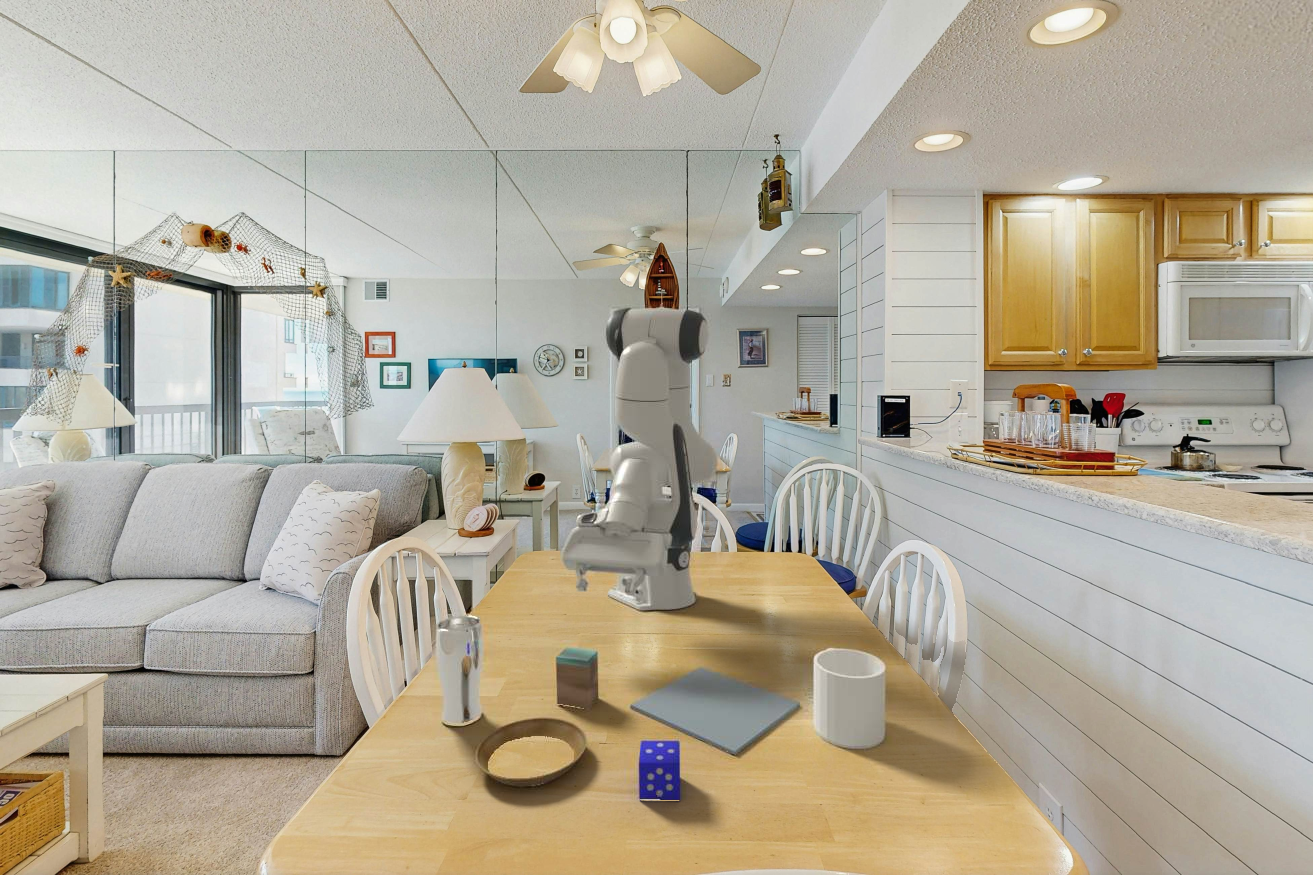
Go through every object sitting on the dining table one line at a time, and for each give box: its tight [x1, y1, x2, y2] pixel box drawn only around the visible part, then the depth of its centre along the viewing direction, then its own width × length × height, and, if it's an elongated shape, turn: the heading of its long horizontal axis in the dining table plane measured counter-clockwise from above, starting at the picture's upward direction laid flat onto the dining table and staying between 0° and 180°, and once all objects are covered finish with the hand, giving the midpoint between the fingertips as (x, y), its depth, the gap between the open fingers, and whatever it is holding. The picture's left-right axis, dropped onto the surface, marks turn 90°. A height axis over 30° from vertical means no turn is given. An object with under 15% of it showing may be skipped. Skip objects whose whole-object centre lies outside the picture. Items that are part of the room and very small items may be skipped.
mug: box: [813, 647, 887, 750], centre depth 91 cm, size 13×10×10 cm
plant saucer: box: [475, 716, 588, 787], centre depth 83 cm, size 15×15×3 cm
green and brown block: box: [555, 646, 599, 710], centre depth 100 cm, size 4×6×8 cm
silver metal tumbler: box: [435, 615, 484, 723], centre depth 95 cm, size 7×7×15 cm
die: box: [638, 740, 681, 801], centre depth 77 cm, size 5×5×5 cm
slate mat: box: [629, 666, 801, 756], centre depth 98 cm, size 20×18×1 cm
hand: (604, 591), depth 111 cm, fingers open, 8 cm apart
